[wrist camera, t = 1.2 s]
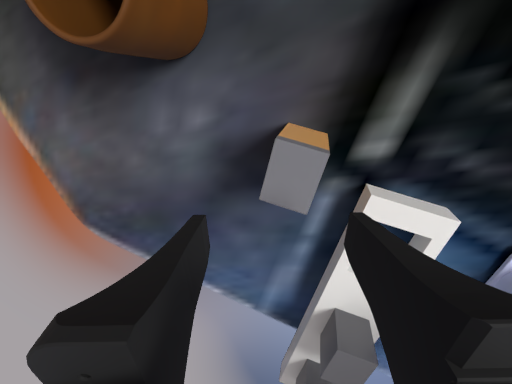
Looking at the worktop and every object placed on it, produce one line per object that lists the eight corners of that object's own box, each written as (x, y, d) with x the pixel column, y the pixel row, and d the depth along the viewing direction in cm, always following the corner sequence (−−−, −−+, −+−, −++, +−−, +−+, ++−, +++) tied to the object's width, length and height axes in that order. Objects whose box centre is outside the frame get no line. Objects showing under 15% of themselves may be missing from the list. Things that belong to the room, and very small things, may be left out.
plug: (327, 133, 22) (329, 154, 15) (310, 180, 24) (306, 214, 17) (288, 122, 22) (275, 138, 16) (275, 169, 24) (258, 199, 18)
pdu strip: (446, 207, 22) (497, 258, 15) (331, 382, 34) (333, 449, 28) (366, 183, 22) (383, 222, 16) (281, 362, 35) (273, 423, 28)
